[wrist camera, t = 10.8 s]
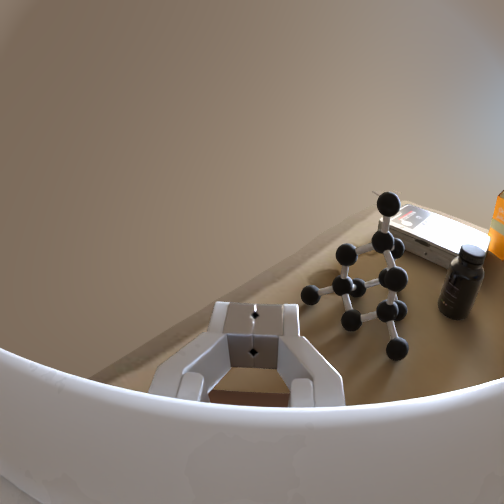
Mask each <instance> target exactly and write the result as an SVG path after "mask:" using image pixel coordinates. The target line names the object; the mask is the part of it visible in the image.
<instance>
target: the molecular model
mask: <svg viewBox="0 0 504 504" xmlns="http://www.w3.org/2000/svg"><path fill="white" fill-rule="evenodd" d="M400 207H401V203H400V199H399V198H398V196H397V195H395V194H394V193H392V192H385V193H383V194H381V195H380V196H379V198H378V200H377V208H378V210H379V212H380V213H381V214H382V215H383V222H382V228H381V230H379V231H377V232H376V233H375V234H374V235H373V237H372V243H369V244H366V245H363V246H360V247H357V248H355V247H354V246H353V245H352V244H342V245H341V246H339V247H338V249H337V251H336V259H337V261H338V262H339V263H340V264H341V265H342V271H341V275H339V276H337V277H336V278H335V279H334V281H333V283H332V286H330V287H326V288H323V289H318V288H317V287H316V286H314V285H308V286H306V287H304V288H303V290H302V292H301V299H302V301H303V302H304V303H305V304H307V305H314V304H316V303H318V302H319V300H320V298H321V296H322V295H325V294H329V293H333V292H335V293H336V294H337V295H339V296H342V298H343V302H344V306H345V309H346V312H345V313H344V314H343V315H342V318H341V324H342V326H343V328H344V329H346V330H347V331H356V330H358V329H359V328H360V327H361V325H362V322H364V321H368V320H372V319H376V318H379V320H381V321H382V322H386V323H387V326H388V330H389V333H390V337H391V340H390V341H389V343H388V344H387V347H386V353H387V355H388V357H389V358H390V359H392V360H395V361H398V360H401V359H403V358H404V357H405V356H406V355H407V353H408V350H409V346H408V343H407V341H406V340H405V339H403V338H400V337H398V335H397V332H396V328H395V325H394V321H393V320H395V321H400V320H402V319H403V318H404V317H405V316H406V314H407V306H406V304H405V303H404V302H402V301H399V300H398V298H397V295H396V292H398V291H401V290H403V289H404V288H405V287H406V285H407V282H408V276H407V273H406V271H405V270H404V269H402V268H400V267H396V265H395V259H398V258H400V257H401V256H402V255H403V253H404V244H403V242H402V241H401V240H400V239H398V238H393V236H392V234H391V233H390V232H389V225H390V219H391V217H392V216H395V215H396V214H397V213H398V212H399V210H400ZM371 250H375V251H377V252H378V253H382V254H384V257H385V260H386V262H387V265H388V266H387V268H385V269H383V270H382V271H381V272H380V274H379V277H378V279H375V280H371V281H368V282H364V281H363V280H362V279H359V278H355V279H353V280H351V278H350V277H348V270H349V266H351V265H353V264H354V263H355V262H356V261H357V258H358V255H359V254H362V253H365V252H368V251H371ZM379 284H381V285H382V286H383V287H385V288H388V290H389V294H388V298H387V300H384V301H382V302H380V303H379V305H378V306H377V309H376V311H375V312H371V313H367V314H363V315H361V313H360V312H359V311H357V310H354V309H352V306H351V302H350V298H349V295H348V294H350V295H351V296H353V297H361V296H363V295H364V294H365V292H366V288H369V287H373V286H376V285H379Z"/></svg>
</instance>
